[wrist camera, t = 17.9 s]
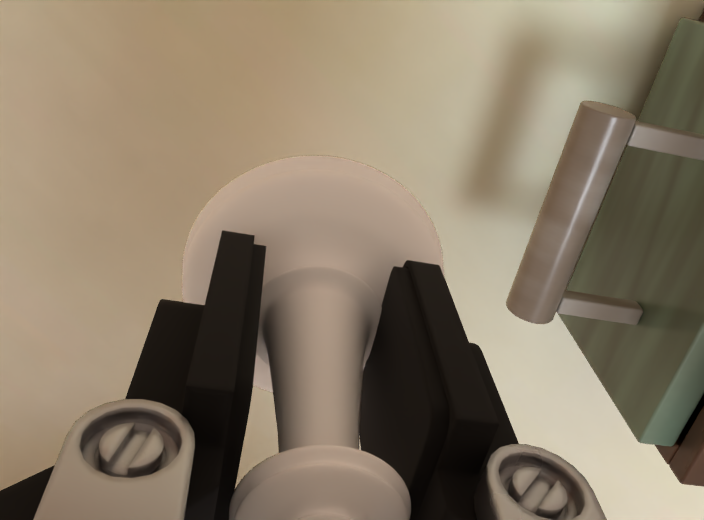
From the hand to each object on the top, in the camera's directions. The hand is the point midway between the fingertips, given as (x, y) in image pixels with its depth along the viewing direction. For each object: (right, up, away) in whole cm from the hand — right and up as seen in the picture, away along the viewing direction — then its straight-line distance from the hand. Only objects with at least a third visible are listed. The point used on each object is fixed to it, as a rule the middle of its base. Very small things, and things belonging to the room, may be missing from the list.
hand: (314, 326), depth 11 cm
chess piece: (0, +1, +2) cm, 2 cm away
